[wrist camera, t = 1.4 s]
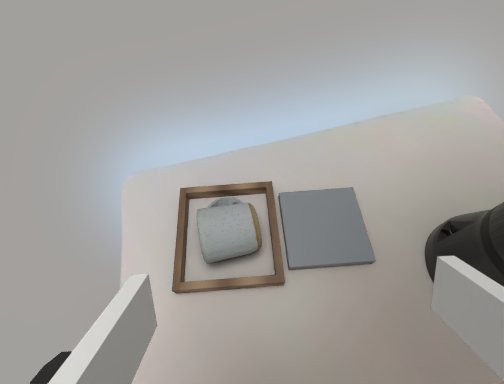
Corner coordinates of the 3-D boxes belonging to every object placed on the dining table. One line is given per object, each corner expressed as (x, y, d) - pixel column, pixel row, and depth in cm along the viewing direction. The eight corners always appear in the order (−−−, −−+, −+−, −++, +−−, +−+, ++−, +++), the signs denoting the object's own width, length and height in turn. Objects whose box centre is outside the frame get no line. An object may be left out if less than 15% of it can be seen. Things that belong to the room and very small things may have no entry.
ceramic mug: (263, 257, 39) (264, 237, 33) (209, 270, 38) (198, 253, 32) (247, 197, 45) (245, 170, 38) (199, 208, 44) (188, 182, 37)
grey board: (350, 192, 44) (352, 187, 43) (371, 263, 38) (375, 260, 37) (278, 197, 44) (279, 192, 43) (288, 270, 38) (289, 267, 37)
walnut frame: (271, 187, 45) (271, 181, 43) (283, 285, 37) (284, 281, 35) (183, 194, 45) (180, 188, 43) (176, 293, 37) (172, 290, 35)
